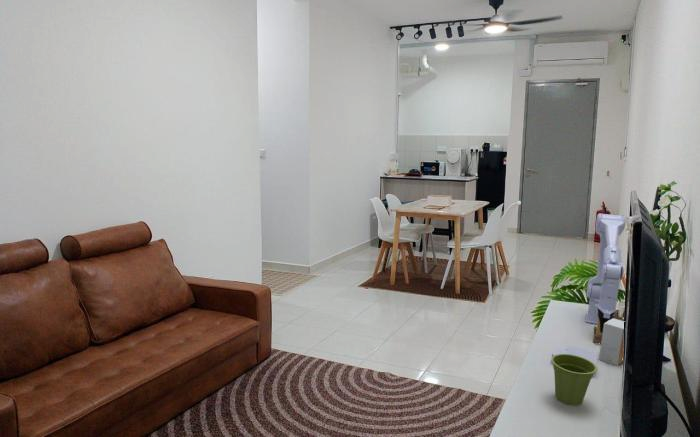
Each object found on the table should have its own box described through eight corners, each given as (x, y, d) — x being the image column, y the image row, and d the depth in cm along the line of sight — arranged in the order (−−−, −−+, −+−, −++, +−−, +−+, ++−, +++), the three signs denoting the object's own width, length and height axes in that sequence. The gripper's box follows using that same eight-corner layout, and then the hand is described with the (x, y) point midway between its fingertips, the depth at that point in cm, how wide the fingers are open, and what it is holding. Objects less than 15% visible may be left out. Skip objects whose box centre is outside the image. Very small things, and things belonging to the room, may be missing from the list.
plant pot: (540, 399, 147) (545, 362, 145) (555, 385, 156) (560, 350, 154) (583, 416, 140) (589, 377, 138) (597, 400, 149) (602, 363, 147)
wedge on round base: (594, 365, 171) (552, 356, 176) (597, 346, 169) (554, 337, 175) (593, 377, 163) (549, 366, 168) (596, 357, 161) (552, 347, 167)
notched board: (593, 332, 199) (594, 326, 199) (615, 336, 196) (616, 330, 196) (593, 342, 189) (594, 336, 189) (616, 347, 186) (617, 340, 186)
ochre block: (596, 332, 195) (598, 314, 194) (607, 334, 194) (610, 316, 192) (596, 336, 192) (598, 318, 191) (608, 338, 190) (610, 320, 189)
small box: (617, 366, 171) (623, 329, 169) (598, 359, 176) (603, 323, 173) (626, 359, 177) (632, 323, 174) (607, 352, 181) (612, 317, 179)
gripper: (596, 288, 198) (591, 322, 200) (596, 299, 185) (591, 335, 187) (617, 291, 195) (612, 325, 198) (618, 302, 182) (613, 339, 185)
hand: (603, 330), depth 192 cm, fingers closed on ochre block, 4 cm apart
